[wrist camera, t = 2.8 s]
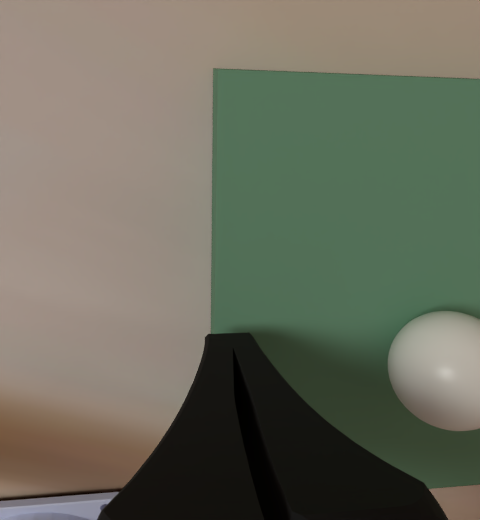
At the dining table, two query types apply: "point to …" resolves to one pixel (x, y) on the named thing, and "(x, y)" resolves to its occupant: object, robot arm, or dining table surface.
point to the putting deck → (348, 240)
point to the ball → (439, 369)
